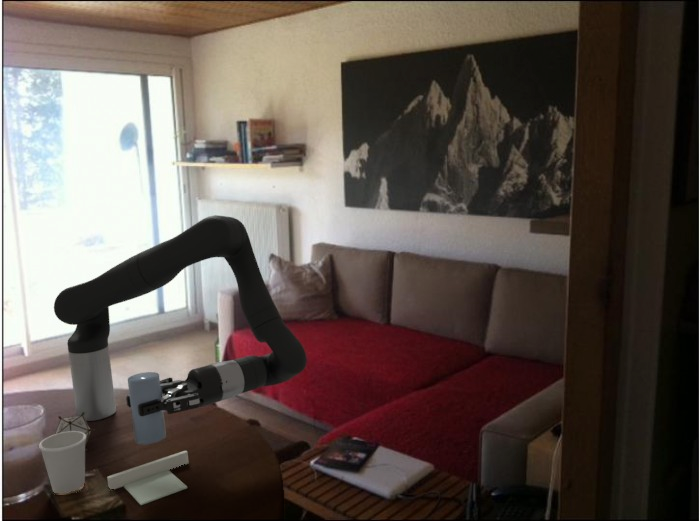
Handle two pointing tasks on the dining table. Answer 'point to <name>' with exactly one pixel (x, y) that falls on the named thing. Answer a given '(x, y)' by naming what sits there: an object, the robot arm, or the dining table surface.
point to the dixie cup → (65, 460)
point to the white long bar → (147, 470)
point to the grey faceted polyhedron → (74, 426)
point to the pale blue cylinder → (143, 391)
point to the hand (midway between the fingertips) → (133, 406)
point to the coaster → (155, 487)
